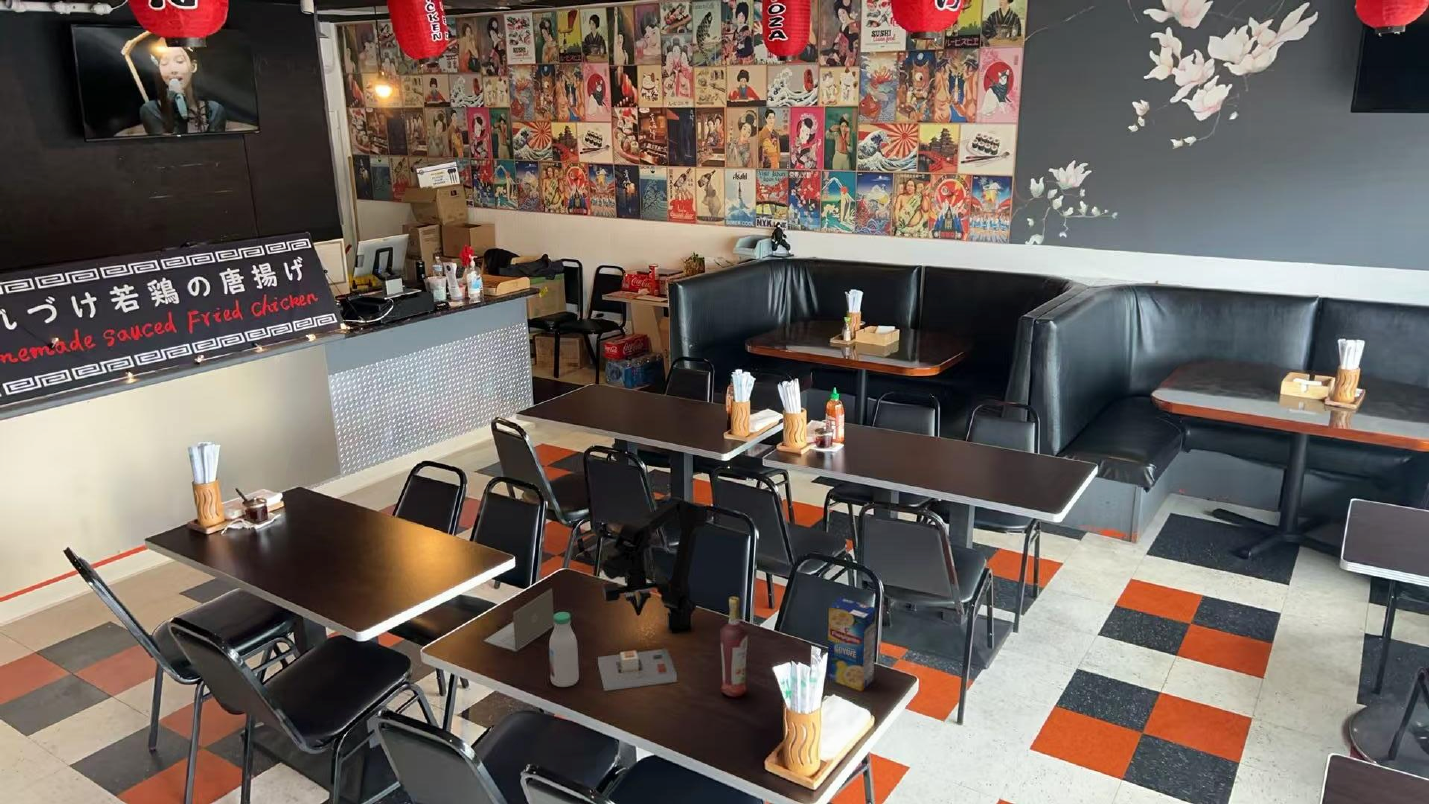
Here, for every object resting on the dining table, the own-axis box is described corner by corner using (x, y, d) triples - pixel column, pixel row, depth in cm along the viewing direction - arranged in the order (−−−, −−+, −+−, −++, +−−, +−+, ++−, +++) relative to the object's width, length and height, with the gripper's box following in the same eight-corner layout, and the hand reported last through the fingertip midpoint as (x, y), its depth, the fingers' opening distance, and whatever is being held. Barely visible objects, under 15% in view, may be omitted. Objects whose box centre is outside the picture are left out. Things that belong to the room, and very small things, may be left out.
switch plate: (667, 656, 293) (667, 646, 292) (676, 681, 280) (676, 671, 279) (598, 665, 289) (597, 654, 288) (604, 691, 275) (604, 680, 275)
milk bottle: (583, 675, 283) (580, 611, 278) (571, 690, 276) (568, 623, 271) (558, 671, 286) (555, 606, 280) (545, 685, 278) (542, 619, 273)
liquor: (738, 703, 270) (738, 607, 262) (715, 695, 273) (714, 600, 266) (752, 690, 276) (753, 596, 268) (729, 682, 279) (729, 590, 272)
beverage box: (862, 691, 275) (865, 618, 269) (826, 678, 281) (828, 606, 275) (873, 680, 280) (876, 608, 274) (838, 668, 287) (841, 597, 281)
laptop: (522, 617, 317) (520, 579, 313) (554, 627, 311) (552, 588, 307) (483, 642, 302) (480, 603, 298) (516, 653, 296) (513, 612, 292)
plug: (636, 669, 286) (635, 648, 285) (638, 677, 282) (638, 656, 280) (620, 671, 285) (620, 650, 284) (623, 679, 281) (622, 658, 280)
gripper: (662, 550, 298) (664, 597, 303) (599, 558, 294) (601, 606, 298) (670, 566, 288) (671, 615, 292) (604, 575, 283) (607, 624, 288)
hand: (638, 614), depth 293 cm, fingers closed
